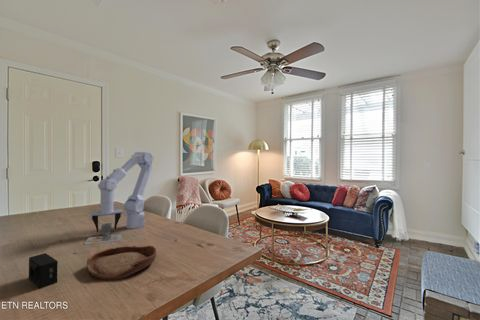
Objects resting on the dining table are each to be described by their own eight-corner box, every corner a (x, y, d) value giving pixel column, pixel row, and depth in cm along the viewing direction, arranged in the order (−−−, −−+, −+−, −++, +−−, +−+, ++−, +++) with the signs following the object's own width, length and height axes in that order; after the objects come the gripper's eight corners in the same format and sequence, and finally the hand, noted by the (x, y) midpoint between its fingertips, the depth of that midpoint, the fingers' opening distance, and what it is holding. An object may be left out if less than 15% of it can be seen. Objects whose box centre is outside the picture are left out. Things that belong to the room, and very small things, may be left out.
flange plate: (121, 237, 111) (121, 233, 111) (120, 242, 104) (120, 238, 104) (88, 240, 105) (88, 237, 105) (84, 246, 98) (84, 242, 98)
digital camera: (23, 280, 71) (23, 258, 71) (45, 273, 75) (45, 252, 75) (34, 291, 65) (34, 267, 65) (57, 282, 70) (57, 260, 70)
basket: (75, 286, 68) (75, 270, 68) (97, 258, 88) (97, 245, 88) (153, 276, 75) (153, 261, 75) (157, 252, 94) (158, 240, 94)
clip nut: (111, 232, 114) (111, 222, 114) (110, 235, 110) (110, 225, 110) (102, 233, 112) (102, 223, 112) (101, 236, 108) (101, 226, 108)
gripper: (122, 200, 119) (122, 225, 119) (90, 202, 111) (89, 229, 111) (123, 202, 113) (123, 229, 113) (89, 205, 105) (88, 233, 105)
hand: (106, 229), depth 111 cm, fingers open, 7 cm apart
